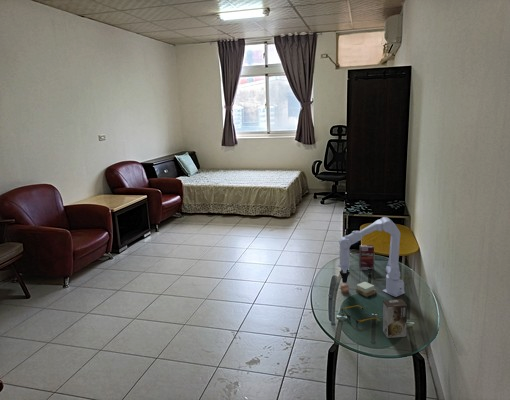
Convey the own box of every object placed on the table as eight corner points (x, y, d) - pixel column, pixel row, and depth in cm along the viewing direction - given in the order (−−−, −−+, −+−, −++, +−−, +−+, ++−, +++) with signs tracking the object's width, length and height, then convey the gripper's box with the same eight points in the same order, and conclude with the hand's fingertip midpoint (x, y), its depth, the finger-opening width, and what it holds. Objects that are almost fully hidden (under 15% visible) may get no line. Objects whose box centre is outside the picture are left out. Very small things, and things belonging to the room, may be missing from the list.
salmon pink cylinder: (350, 292, 223) (350, 285, 222) (344, 294, 220) (344, 287, 219) (344, 289, 226) (344, 283, 225) (339, 291, 224) (339, 285, 223)
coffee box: (400, 329, 182) (401, 298, 179) (406, 336, 176) (407, 305, 173) (382, 330, 182) (382, 299, 179) (387, 338, 176) (388, 306, 172)
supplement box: (360, 270, 251) (360, 247, 248) (359, 267, 256) (359, 245, 253) (373, 269, 251) (374, 247, 248) (371, 267, 256) (372, 244, 252)
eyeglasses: (339, 315, 199) (339, 308, 198) (363, 309, 204) (363, 302, 203) (356, 328, 186) (356, 321, 185) (380, 321, 191) (380, 314, 190)
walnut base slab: (376, 293, 220) (376, 289, 220) (366, 297, 216) (366, 293, 215) (365, 288, 227) (365, 284, 226) (356, 292, 223) (356, 288, 222)
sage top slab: (374, 289, 220) (374, 285, 219) (365, 293, 216) (365, 289, 216) (365, 285, 226) (365, 281, 225) (356, 288, 222) (356, 284, 222)
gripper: (337, 253, 226) (337, 274, 229) (337, 262, 213) (337, 284, 216) (349, 253, 225) (349, 274, 228) (350, 262, 211) (350, 285, 214)
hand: (344, 279), depth 222 cm, fingers open, 7 cm apart
